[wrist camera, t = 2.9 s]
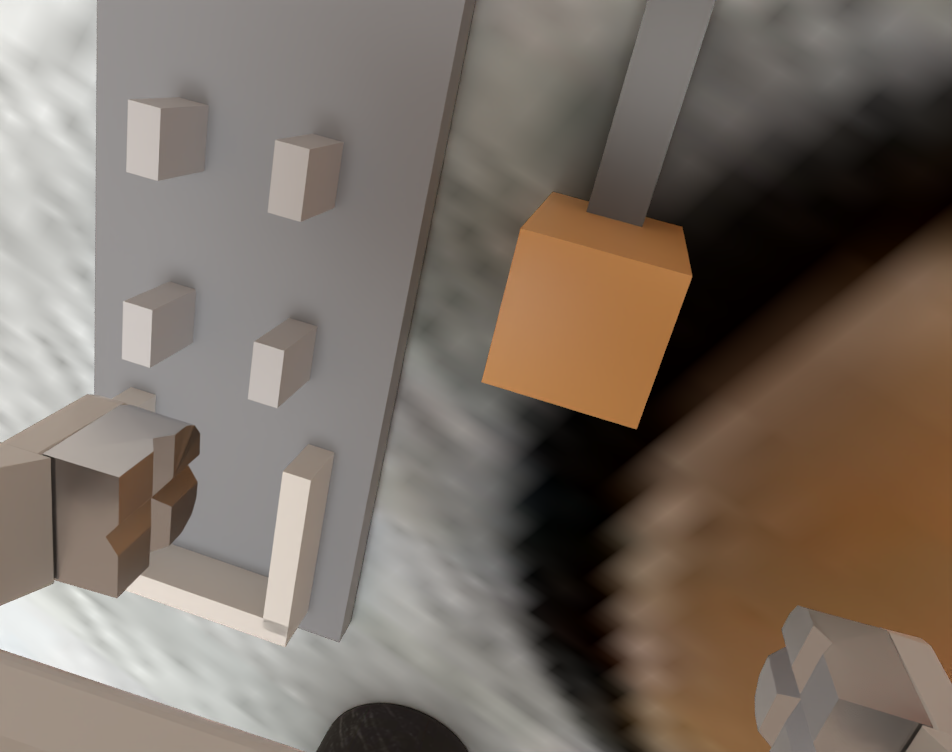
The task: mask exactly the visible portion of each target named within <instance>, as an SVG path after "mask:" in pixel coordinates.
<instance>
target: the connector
mask: <svg viewBox="0 0 952 752" xmlns="http://www.w3.org/2000/svg"><path fill="white" fill-rule="evenodd" d="M715 2H716V0H648V1H647V4H646V7H645V11H644V14H643V18H642V21H641V25H640V28H639V32H638V35H637V39H636V42H635V45H634V49H633V52H632V56H631V59H630V63H629V66H628V70H627V73H626V77H625V80H624V83H623V87H622V90H621V94H620V97H619V101H618V104H617V108H616V111H615V114H614V118H613V121H612V125H611V128H610V132H609V135H608V139H607V142H606V146H605V149H604V152H603V156H602V159H601V163H600V166H599V170H598V173H597V177H596V180H595V183H594V187H593V190H592V194H591V197H590V201H585V200H582V199H578V198H574V197H570V196H567V195H563V194H559V193H556V192H552V193H551V194H550V195H549V197H548V198H547V199H546V200H545V201H544V202H543V203H542V204H541V206H540V207H539V208H538V209H537V210H536V211H535V212H534V214H533V215H532V216H531V217H530V218H529V219H528V220H527V221H526V223H525V224H524V225H523V226H522V227H521V228H520V232H519V236H518V240H517V244H516V248H515V252H514V256H513V260H512V264H511V268H510V272H509V276H508V280H507V283H506V287H505V291H504V295H503V299H502V303H501V307H500V311H499V315H498V319H497V323H496V327H495V331H494V335H493V339H492V342H491V346H490V350H489V354H488V358H487V362H486V366H485V370H484V374H483V378H482V382H483V383H486V384H489V385H493V386H496V387H499V388H503V389H506V390H509V391H512V392H516V393H519V394H522V395H525V396H529V397H532V398H535V399H539V400H542V401H545V402H548V403H552V404H555V405H558V406H561V407H565V408H568V409H571V410H575V411H578V412H581V413H584V414H588V415H591V416H594V417H597V418H601V419H604V420H607V421H611V422H614V423H617V424H620V425H624V426H627V427H630V428H634V429H637V427H638V424H639V421H640V419H641V416H642V413H643V410H644V408H645V405H646V402H647V399H648V397H649V394H650V391H651V388H652V386H653V383H654V380H655V377H656V375H657V372H658V369H659V366H660V364H661V361H662V358H663V355H664V353H665V350H666V347H667V344H668V342H669V339H670V336H671V333H672V331H673V328H674V325H675V323H676V320H677V317H678V314H679V312H680V309H681V306H682V303H683V301H684V298H685V295H686V292H687V290H688V287H689V284H690V281H691V279H692V272H691V267H690V262H689V257H688V252H687V247H686V242H685V237H684V232H683V227H681V226H677V225H674V224H670V223H666V222H663V221H659V220H655V219H651V218H648V217H646V214H647V211H648V208H649V205H650V202H651V199H652V196H653V193H654V189H655V186H656V183H657V180H658V177H659V174H660V171H661V168H662V165H663V162H664V159H665V156H666V153H667V149H668V146H669V143H670V140H671V137H672V134H673V131H674V128H675V125H676V122H677V119H678V116H679V113H680V109H681V106H682V103H683V100H684V97H685V94H686V91H687V88H688V85H689V82H690V79H691V76H692V73H693V69H694V66H695V63H696V60H697V57H698V54H699V51H700V48H701V45H702V42H703V39H704V36H705V32H706V29H707V26H708V23H709V20H710V17H711V14H712V11H713V8H714V5H715Z"/></svg>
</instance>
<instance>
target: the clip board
mask: <svg viewBox="0 0 952 752" xmlns="http://www.w3.org/2000/svg"><path fill="white" fill-rule="evenodd" d="M475 2H476V0H97V80H96V228H95V376H94V395H100V396H104V397H107V398H110V399H114V400H117V401H121V402H124V403H126V404H128V405H133V406H136V407H140V408H143V409H146V410H149V411H152V412H155V413H158V414H161V415H165V416H168V417H171V418H174V419H177V420H180V421H183V422H186V423H190V424H193V425H195V426H196V428H197V429H198V431H199V432H200V455H199V456H197V457H196V458H195V459H194V460H193V461H192V462H191V463H190V464H189V467H190V469H191V471H192V473H193V474H194V476H195V478H196V480H197V482H198V485H197V497H196V501H195V505H194V508H193V512H192V515H191V517H190V518H189V520H188V522H187V524H186V526H185V528H184V529H183V531H182V533H181V534H180V535H179V536H178V537H177V538H176V539H175V540H174V541H173V542H172V544H171V545H170V546H167V547H164V548H161V549H158V550H155V551H152V552H150V559H149V567H148V568H147V569H146V570H145V571H144V572H143V573H142V574H141V575H140V576H139V577H138V578H137V579H136V580H135V581H134V582H133V583H132V584H131V585H130V586H129V587H128V588H127V589H126V591H129V592H132V593H135V594H137V595H140V596H143V597H146V598H149V599H152V600H154V601H157V602H160V603H163V604H166V605H168V606H171V607H174V608H177V609H180V610H182V611H185V612H188V613H191V614H194V615H197V616H199V617H202V618H205V619H208V620H211V621H213V622H216V623H219V624H222V625H225V626H227V627H230V628H233V629H236V630H239V631H242V632H244V633H247V634H250V635H253V636H256V637H258V638H261V639H264V640H267V641H270V642H272V643H275V644H278V645H281V646H284V647H285V646H286V645H287V643H288V642H289V640H290V639H291V637H292V635H293V634H294V632H295V631H296V629H297V628H300V629H303V630H306V631H308V632H311V633H314V634H317V635H320V636H323V637H325V638H328V639H331V640H334V641H337V642H340V640H341V639H342V637H343V635H344V633H345V631H346V629H347V628H348V626H349V624H350V622H351V617H352V612H353V607H354V602H355V597H356V592H357V587H358V582H359V577H360V573H361V568H362V563H363V558H364V553H365V548H366V543H367V538H368V533H369V528H370V523H371V518H372V513H373V508H374V503H375V498H376V493H377V488H378V483H379V478H380V473H381V468H382V463H383V458H384V453H385V448H386V443H387V439H388V434H389V429H390V424H391V419H392V414H393V409H394V404H395V399H396V394H397V389H398V384H399V379H400V374H401V369H402V364H403V359H404V354H405V349H406V344H407V339H408V334H409V329H410V324H411V319H412V314H413V309H414V304H415V300H416V295H417V290H418V285H419V280H420V275H421V270H422V265H423V260H424V255H425V250H426V245H427V240H428V235H429V230H430V225H431V220H432V215H433V210H434V205H435V200H436V195H437V190H438V185H439V180H440V175H441V170H442V166H443V161H444V156H445V151H446V146H447V141H448V136H449V131H450V126H451V121H452V116H453V111H454V106H455V101H456V96H457V91H458V86H459V81H460V76H461V71H462V66H463V61H464V56H465V51H466V46H467V41H468V36H469V32H470V27H471V22H472V17H473V12H474V7H475Z"/></svg>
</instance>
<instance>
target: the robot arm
mask: <svg viewBox="0 0 952 752" xmlns="http://www.w3.org/2000/svg"><path fill="white" fill-rule="evenodd" d="M199 455H200V432H199V431H198V429H197V428H196V426H195V425H193V424H190V423H186V422H183V421H180V420H177V419H174V418H171V417H168V416H165V415H161V414H158V413H155V412H152V411H149V410H146V409H143V408H140V407H136V406H133V405H128V404H126V403H124V402H121V401H117V400H114V399H110V398H107V397H104V396H100V395H89V394H87V395H85V396H83V397H81V398H80V399H78V400H76V401H74V402H73V403H71V404H69V405H67V406H66V407H64V408H62V409H60V410H59V411H57V412H55V413H53V414H51V415H50V416H48V417H46V418H44V419H43V420H41V421H39V422H37V423H36V424H34V425H32V426H30V427H29V428H27V429H25V430H23V431H21V432H20V433H18V434H16V435H14V436H13V437H11V438H9V439H7V440H6V441H4V442H2V443H1V442H0V606H1V605H3V604H6V603H8V602H10V601H13V600H15V599H18V598H20V597H22V596H25V595H27V594H30V593H32V592H34V591H37V590H39V589H42V588H44V587H46V586H49V585H51V584H53V583H54V580H56V581H60V582H63V583H67V584H70V585H74V586H77V587H80V588H84V589H87V590H91V591H94V592H98V593H101V594H104V595H108V596H111V597H115V598H118V597H119V596H120V595H121V594H122V593H123V592H124V591H125V590H126V589H127V588H128V587H129V586H130V585H131V584H132V583H133V582H134V581H135V580H136V579H137V578H138V577H139V576H140V575H141V574H142V573H143V572H144V571H145V570H146V569H147V568H148V567H149V559H150V552H152V551H155V550H158V549H161V548H164V547H167V546H170V545H171V544H172V542H173V541H174V540H175V539H176V538H177V537H178V536H179V535H180V534H181V533H182V531H183V529H184V528H185V526H186V524H187V522H188V520H189V518H190V517H191V515H192V512H193V508H194V505H195V501H196V497H197V485H198V482H197V480H196V478H195V476H194V474H193V473H192V471H191V469H190V467H189V464H190V463H191V462H192V461H193V460H194V459H195V458H196V457H197V456H199ZM782 633H783V637H784V640H785V644H786V647H784V648H782V649H780V650H778V651H776V652H775V653H773V654H771V655H769V656H768V657H767V660H766V662H765V664H764V666H763V668H762V671H761V673H760V675H759V679H758V684H757V689H756V694H755V717H756V722H757V728H758V732H759V733H760V734H761V735H762V736H763V738H764V739H765V740H766V741H767V743H768V744H769V745H770V746H771V747H772V748H771V750H770V752H952V684H951V682H950V680H949V678H948V676H947V674H946V673H945V671H944V669H943V667H942V665H941V663H940V661H939V660H938V658H937V656H936V654H935V652H934V650H933V649H932V647H931V646H930V645H929V644H928V643H927V642H925V641H924V640H923V639H922V638H918V637H915V636H911V635H907V634H903V633H899V632H895V631H892V630H888V629H884V628H878V627H874V626H871V625H867V624H863V623H860V622H856V621H853V620H849V619H845V618H842V617H838V616H835V615H831V614H827V613H824V612H820V611H816V610H813V609H809V608H806V607H802V606H797V607H796V608H795V609H794V610H793V611H792V612H791V613H790V614H789V616H788V618H787V620H786V622H785V624H784V625H783V627H782ZM0 752H305V751H302V750H299V749H296V748H293V747H290V746H287V745H284V744H281V743H278V742H275V741H272V740H269V739H266V738H263V737H260V736H257V735H254V734H251V733H248V732H245V731H242V730H239V729H236V728H233V727H230V726H227V725H224V724H221V723H218V722H215V721H212V720H209V719H206V718H203V717H200V716H197V715H194V714H191V713H188V712H186V711H183V710H180V709H177V708H174V707H171V706H168V705H165V704H162V703H159V702H156V701H153V700H150V699H147V698H144V697H141V696H138V695H135V694H132V693H129V692H126V691H123V690H120V689H117V688H114V687H111V686H108V685H105V684H102V683H99V682H96V681H93V680H90V679H87V678H84V677H81V676H79V675H76V674H73V673H70V672H67V671H64V670H61V669H58V668H55V667H52V666H49V665H46V664H43V663H40V662H37V661H34V660H31V659H28V658H25V657H22V656H19V655H16V654H13V653H10V652H7V651H4V650H1V649H0Z"/></svg>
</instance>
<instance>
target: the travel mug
mask: <svg viewBox="0 0 952 752" xmlns="http://www.w3.org/2000/svg"><path fill="white" fill-rule="evenodd" d="M316 752H467V750H466V748H465V747H464V746H463V744H462V743H461V742H460V740H459V739H458V738H457V737H456V736H455V735H454V734H453V733H452V732H451V731H450V730H448V729H447V728H446V727H445V726H443V725H442V724H441V723H439V722H438V721H436V720H434V719H433V718H431V717H429V716H427V715H425V714H423V713H421V712H419V711H416V710H413V709H410V708H407V707H403V706H398V705H392V704H368V705H363V706H359V707H356V708H353V709H351V710H349V711H347V712H345V713H344V714H343V715H341V716H340V717H339V718H338V719H337V720H336V721H335V722H334V723H333V724H332V726H331V727H330V729H329V730H328V732H327V734H326V735H325V737H324V739H323V741H322V742H321V744H320V746H319V748H318V750H317V751H316Z"/></svg>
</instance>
